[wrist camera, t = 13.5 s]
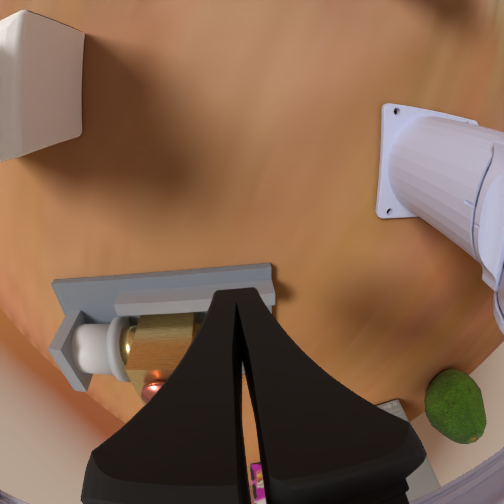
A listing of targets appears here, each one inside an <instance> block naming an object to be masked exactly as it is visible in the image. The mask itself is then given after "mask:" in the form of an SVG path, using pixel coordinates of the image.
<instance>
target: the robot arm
mask: <svg viewBox="0 0 504 504" xmlns="http://www.w3.org/2000/svg"><path fill="white" fill-rule="evenodd" d="M395 108H396V109H397V114H396V115H395V114H394V109H395ZM388 209H390V212H389V213H387V210H388ZM376 215H377V216H378V217H380V218H382V219H384V218H405V217H420V218H422V219H423V220H425V221H426V222H427V223H429V224H430V225H431V226H433V227H434V228H436V229H437V230H438V231H440V232H441V233H442V234H444V235H445V236H446V237H448V238H449V239H450V240H451V241H453V242H454V243H455V244H457V245H458V246H459V247H460V248H462V249H463V250H464V251H465V252H467V253H468V254H469V255H470V256H472V257H473V258H474V259H475V260H476V261H478V262H479V263H480V264H481V266H482V269H483V274H482V280H483V281H484V282H485V283H486V284H487V285H488V286H489V287H491V288H492V289H493V290H494V291H495V293H494V296H493V304H492V308H493V315H494V318H495V321H496V323H497V325H498V327H499V329H500V330H501V332H502V333H503V335H504V132H500V131H497V130H493V129H489V128H486V127H482V126H478V123H477V122H476V121H474V120H470V119H466V118H462V117H458V116H454V115H450V114H446V113H441V112H436V111H432V110H426V109H421V108H416V107H410V106H404V105H397V104H390V103H386V104H384V105H383V107H382V123H381V150H380V167H379V181H378V192H377V202H376ZM242 361H243V366H244V371H245V375H246V380H247V385H248V389H249V394H250V398H251V403H252V407H253V412H254V417H255V422H256V429H257V437H258V445H259V453H260V461H261V469H262V476H263V484H264V492H265V499H266V504H504V448H502V449H501V450H500V451H498V452H497V453H495V454H494V455H493V456H491V457H490V458H488V459H487V460H485V461H484V462H482V463H481V464H479V465H478V466H476V467H475V468H473V469H471V470H470V471H468V472H467V473H465V474H463V475H462V476H460V477H458V478H456V479H455V480H453V481H451V482H449V483H447V484H446V485H444V486H442V487H440V488H438V489H436V490H434V491H432V492H430V493H428V494H426V495H424V496H422V497H419V498H417V499H415V500H413V501H411V502H409V501H408V498H407V495H406V493H405V492H407V491H408V490H409V486H408V483H407V480H406V478H407V477H408V476H409V475H410V474H412V473H413V472H414V471H415V470H416V469H417V468H418V467H419V466H420V465H421V464H422V463H423V462H424V460H425V458H426V455H427V454H426V451H425V449H424V447H423V445H422V443H421V440H420V439H419V437H418V436H417V434H416V432H415V431H414V429H413V428H412V426H411V424H410V423H409V422H408V421H406V420H404V419H401V418H399V417H397V416H395V415H393V414H391V413H389V412H387V411H385V410H383V409H381V408H379V407H377V406H375V405H373V404H372V403H370V402H368V401H367V400H365V399H363V398H362V397H360V396H358V395H357V394H355V393H354V392H353V391H351V390H350V389H348V388H347V387H345V386H344V385H343V384H341V383H340V382H338V381H337V380H336V379H334V378H333V377H332V376H330V375H329V374H328V373H327V372H325V371H324V370H323V369H322V368H321V367H319V366H318V365H317V364H316V363H315V362H314V361H313V360H312V359H311V358H309V357H308V356H307V355H306V354H305V353H304V352H303V351H302V350H301V349H300V348H299V347H298V346H297V344H296V343H295V342H294V341H293V340H292V339H291V338H290V337H289V336H288V334H287V333H286V332H285V331H284V330H283V328H282V327H281V326H280V324H279V323H278V322H277V321H276V319H275V318H274V317H273V315H272V314H271V312H270V311H269V309H268V308H267V306H266V305H265V303H264V302H263V300H262V298H261V296H260V294H259V292H258V290H257V289H256V288H254V287H249V288H238V289H226V290H217V291H216V292H215V293H214V294H213V298H212V301H211V304H210V306H209V309H208V311H207V313H206V316H205V318H204V320H203V322H202V324H201V326H200V328H199V330H198V332H197V334H196V336H195V338H194V339H193V341H192V343H191V345H190V346H189V348H188V350H187V351H186V353H185V355H184V356H183V358H182V359H181V361H180V362H179V364H178V365H177V367H176V368H175V370H174V371H173V372H172V374H171V375H170V376H169V378H168V379H167V380H166V381H165V383H164V384H163V385H162V386H161V388H160V389H159V390H158V391H157V392H156V394H155V395H154V396H153V397H152V398H151V399H150V400H149V402H148V403H147V404H146V405H145V406H144V407H143V408H142V409H141V410H140V411H139V412H138V413H137V414H136V415H135V416H134V417H133V418H132V419H131V420H129V421H128V422H127V423H126V424H125V425H124V426H123V427H122V428H121V429H120V430H118V431H117V432H116V433H115V434H114V435H112V436H111V437H110V438H108V439H107V440H106V441H105V442H104V443H102V444H101V445H100V446H99V447H97V448H96V449H94V450H93V451H92V453H91V456H90V459H89V461H88V464H87V467H86V471H85V476H84V482H83V488H82V494H81V501H82V503H83V504H251V497H250V489H249V481H248V473H247V464H246V456H245V446H244V437H243V427H242ZM0 504H28V503H26V502H24V501H21V500H19V499H17V498H15V497H13V496H11V495H9V494H7V493H5V492H3V491H1V490H0Z"/></svg>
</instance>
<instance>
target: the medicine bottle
mask: <svg viewBox="0 0 504 504" xmlns="http://www.w3.org/2000/svg"><path fill="white" fill-rule="evenodd" d="M84 38H85V35H84V33H83V32H82V31H80V30H78V29H75V28H73V27H71V26H68V25H66V24H63V23H61V22H58V21H56V20H53V19H50V18H48V17H45V16H42V15H40V14H37V13H34V12H31V11H28V10H21V11H19V12H17V13H15V14H13V15H11V16H9V17H7V18H5V19H3V20H1V21H0V162H2V161H6V160H10V159H15V158H19V157H21V156H24V155H26V154H29V153H32V152H34V151H37V150H40V149H43V148H46V147H48V146H51V145H54V144H57V143H60V142H64V141H67V140H70V139H73V138H77V137H79V136H80V135H81V134H82V65H83V50H84Z"/></svg>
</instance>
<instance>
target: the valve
mask: <svg viewBox="0 0 504 504" xmlns="http://www.w3.org/2000/svg"><path fill="white" fill-rule="evenodd" d="M201 324H202V322H198V320H197V315H196V312H187V313H170V314H151V315H140V319H139V322H138V325H129V326H124V327H123V328H122V330H121V333H120V338H119V348H120V354H121V358H122V361H123V363H124V365H125V366H126V368H125V371H126V373H127V374H128V376H129V378H130V380H131V382H132V384H133V386H134V388H135V390H136V391H137V393H138V395H139V397H140V399H141V400H142V402H143V404H144V405H146V404H147V403H148V402H149V400H150V399H151V398H152V397H153V396H154V395H155V394H156V392H157V391H158V390H159V389H160V388H161V386H162V385H163V384H164V383H165V381H166V380H167V379H168V378H169V376H170V375H171V374H172V372H173V371H174V370H175V368H176V367H177V365H178V364H179V362H180V361H181V359H182V358H183V356H184V355H185V353H186V351H187V350H188V348H189V346H190V345H191V343H192V341H193V339H194V338H195V336H196V334H197V332H198V330H199V328H200V326H201Z"/></svg>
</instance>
